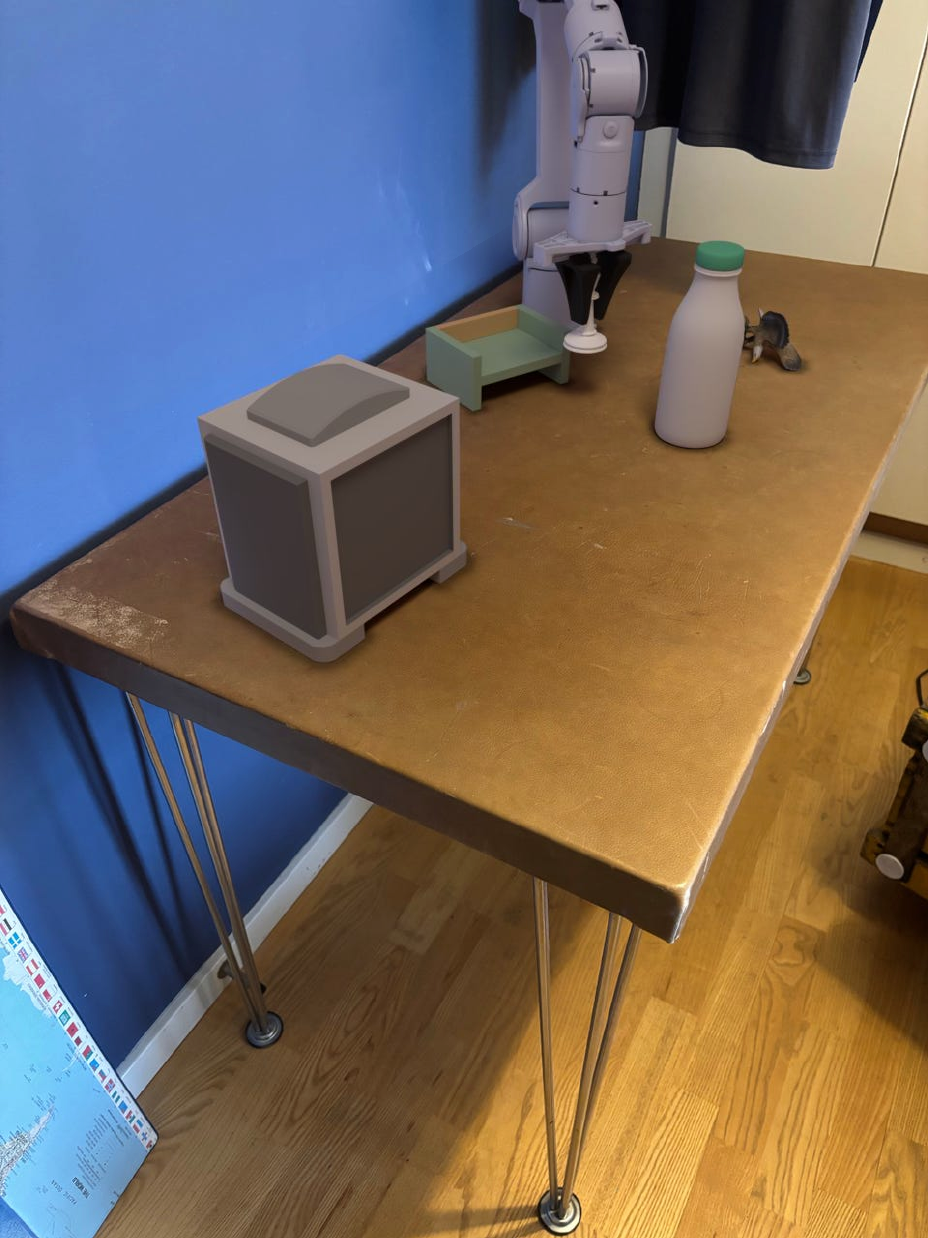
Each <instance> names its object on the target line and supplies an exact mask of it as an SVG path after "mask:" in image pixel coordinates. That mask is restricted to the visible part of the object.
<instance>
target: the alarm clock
mask: <svg viewBox="0 0 928 1238" xmlns="http://www.w3.org/2000/svg"><path fill="white" fill-rule="evenodd" d="M460 404H461V403H460V398H458V397H455V396H453V395H450V394H447V393H445V392H444V391H442V390H440V389H436V388H434V387H431V386H428V385H425V384H423V383H420V382H417V381H415V380H412V379H409V378H406V377H404V376H401V375H398V374H396V373H393V372H390V371H388V370H385V369H383V368H379V367H376V366H374V365H371V364H368V363H365V362H364V361H360V360H357V359H355V358H352V357H350V356H348V355H347V356H346V355H344V354H341V353H338V354H336V355H333V356H331V357H329V358H326V359H325V360H322V361H320V362H318V363H316V364H313V365H311V366H309V367H306V368H304V369H302V370H300V371H297V372H295V373H293V374H291V375H288V376H286V377H284V378H282V379H280V380H277V381H275V382H273V383H270V384H269V385H266V386H264V387H262V388H259V389H257V390H255V391H252V392H251V393H248V394H246V395H244V396H241V397H239V398H237V399H235V400H232V401H230V402H228V403H225V404H224V405H221V406H219V407H217V408H214V409H213V410H210V411H207V412H206V413H204V414H201V415H199V416H197V417H196V420H197V424H198V430H199V435H200V439H201V443H202V449H203V454H204V460H205V464H206V468H207V472H208V473H207V474H208V477H209V482H210V488H211V493H212V498H213V502H214V507H215V511H216V515H217V522H218V527H219V532H220V536H221V541H222V546H223V550H224V555H225V561H226V565H227V569H228V575H229V576H228V577H226V578H225V579H224V580H222V582H221V583H220V585H219V586H220V591H221V595H222V600H223V605H224V607H226V608H227V609H228V610H230V611H232V612H233V613H235V614H237V615H238V616H241V618H243V619H245V620H247V621H248V622H249V623H251V624H253V625H254V626H257V627H258V628H260V629H261V630H263V631H264V632H265V633H268V634H269V635H271V636H272V637H274V638H276V639H278V640H279V641H281V642H283V643H284V644H286V645H287V646H289V647H290V648H292V649H294V650H295V651H296V652H298V653H300V654H302V655H303V656H305V657H307V658H309V659H310V660H311V661H313V662H315V663H322V664H323V663H330V662H334V661H336V660H338V659H339V658H340V657H341V656H343V655H344V654H346V653H348V651H350V650H351V649H353V648H354V647H355V646H357V645H359V644H360V643H361V642H362V641H363V640H365V639H366V632H365V623H366V622H368V621H370V620H371V619H372V618H373V617H375V616H376V615H378V614H379V613H381V612H382V611H384V610H385V609H387V607H389V606H390V605H392V604H393V603H395V602H396V601H398V600H399V599H400V598H402V597H403V596H405V595H406V594H407V593H409V592H410V591H411V590H413V589H414V588H416V587H417V586H419V585H420V584H421V583H423V582H424V581H426V580H427V579H429V580H432V581H433V582H435V583H437V584H439V585H441V584H443V583H444V582H446V581H447V580H448V579H450V578H451V577H452V576H454V575H456V573H459V571H460V570H462V569H463V568H465V567H466V566H467V562H468V556H467V554H468V552H467V551H468V549H467V548H468V546H467V544H466V543H465V541H463V540H462V539H461V431H460V430H461V427H460V425H461V422H460V421H461V420H460V419H461V417H460V416H461V415H460V413H461V411H460V410H461V409H460Z"/></svg>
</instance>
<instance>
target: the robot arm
mask: <svg viewBox="0 0 928 1238" xmlns="http://www.w3.org/2000/svg"><path fill="white" fill-rule="evenodd" d="M517 1H518V2H519V12H520V13H522V14H523V15H524V16H526V17H528V18H530V19H531V20H532V22H533V29H534V35H535V43H536V45H535V46H536V63H535V64H536V65H535V66H536V70H535V71H536V72H535V73H536V76H535V77H536V78H535V79H536V82H535V83H536V94H535V95H536V98H535V99H536V102H535V104H536V105H535V108H536V109H535V110H536V113H535V115H536V117H535V118H536V121H535V122H536V128H535V129H536V130H535V131H536V135H535V137H536V138H535V140H536V142H535V143H536V144H535V145H536V147H535V152H536V155H535V157H536V158H535V161H536V162H535V165H536V166H535V169H536V170H535V171H536V172H535V177H534V178H533V179H532V180H531V181H530V182H529V183H528V184H526V185H525V186H524V187H523V188H522V189H521V190H520V191H518V193H517V194H516V197H515V199H514V202H513V217H512V226H511V240H512V241H511V242H512V250H513V254H514V256H515V257H516V258H517V260H518V261H522V263H523V266H522V267H523V268H522V269H523V270H522V289H521V290H522V291H521V296H522V297H521V304H523V305H525V306H526V307H528V308H530V309H532V310H534V311H536V312H538V313H540V314H542V315H544V316H546V317H548V318H550V319H551V320H553V321H555V322H557V323H559V324H561V325H563V326H565V327H567V328H569V329H571V330H572V332H573V331H576V329H577V328H579V325H586V324H587V322H588V319H589V314H590V306H591V298H592V293H593V289H594V286H595V282H596V280H597V277H598V275H599V272H600V273H601V276H600V278H599V280H598V283H597V286H596V288H595V291H596V292H598V293H599V298H598V299H595V300H593V314H594V320H596V321H599V322H600V321H603V320H604V319H605V317H606V314H607V311H608V308H609V306H610V303H611V301H612V298H613V295H614V292H615V291H616V289H617V286H618V285H619V282H620V281H621V279H622V277H623V275H624V274H625V273H626V271H627V270H628V268H629V267H630V266H631V264H632V260H633V254H632V253H631V252H629V251H626V250H625V249H626V246H631V245H634V244H638V243H639V244H640V245H641V244H642V245H646V244H650V243H651V238H652V232H653V231H652V229H653V223H650V222H648V221H645V220H642V219H637V220H630V221H625V215H626V203H627V194H628V185H629V175H630V166H631V157H632V148H633V138H634V131H635V130H634V129H635V120H634V118H635V119H639V118H640V117H641V115H642V113H643V110H644V107H645V104H646V99H647V93H648V91H647V90H648V81H649V80H648V74H649V73H648V61H647V57H646V51H645V49H644V48H643V47H639V46H637V44H630V42H629V38H628V35H627V31H626V28H625V25H624V20H623V17H622V13H621V11H620V10H621V9H620V8H619V6H618V4H617V3H616V1H615V0H517ZM633 117H634V118H633ZM538 203H539V204H540V203H568V206H567V205H566V206H563V205H562V206H539V207H538V206H537V207H536V206H535V207H532V206H533V205H535V204H538ZM593 253H594V254H596V258H597V263H596V264H594V263H592V262H591V258H590V255H591V254H593ZM597 325H598V324H597V323H594V329H596V330H597V328H598V326H597Z"/></svg>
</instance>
